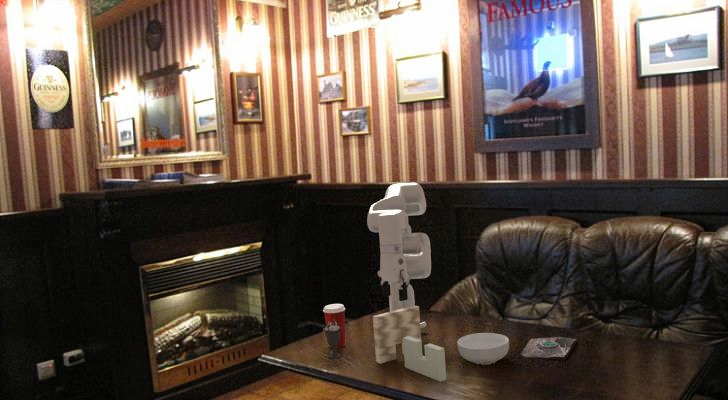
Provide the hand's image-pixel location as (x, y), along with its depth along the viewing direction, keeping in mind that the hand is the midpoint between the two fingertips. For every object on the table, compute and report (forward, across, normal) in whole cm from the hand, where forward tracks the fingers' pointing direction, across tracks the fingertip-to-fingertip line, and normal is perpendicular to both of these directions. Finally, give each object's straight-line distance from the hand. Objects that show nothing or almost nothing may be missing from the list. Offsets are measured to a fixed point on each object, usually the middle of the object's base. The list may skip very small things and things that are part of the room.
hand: (395, 298), depth 225 cm
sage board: (+21, -18, +4) cm, 28 cm away
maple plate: (+21, +1, 0) cm, 21 cm away
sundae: (+21, +18, +16) cm, 31 cm away
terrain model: (+22, -30, -41) cm, 55 cm away
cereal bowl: (+21, -23, -18) cm, 36 cm away
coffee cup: (+21, +28, +8) cm, 35 cm away
